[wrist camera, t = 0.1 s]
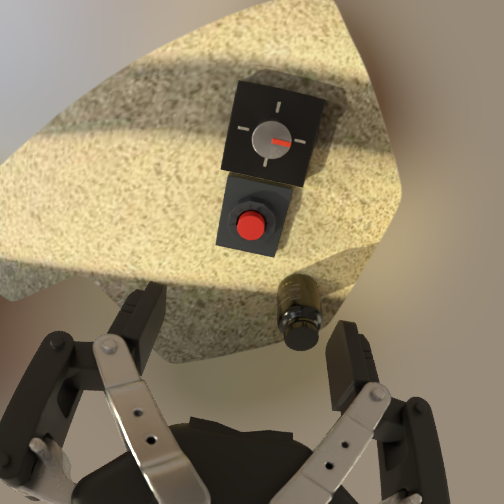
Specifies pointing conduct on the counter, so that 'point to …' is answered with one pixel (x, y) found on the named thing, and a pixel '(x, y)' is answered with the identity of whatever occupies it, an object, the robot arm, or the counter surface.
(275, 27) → the counter surface
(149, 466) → the robot arm
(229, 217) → the button housing
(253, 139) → the stove knob
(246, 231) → the power button
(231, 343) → the counter surface
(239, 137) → the stove panel
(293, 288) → the supplement bottle
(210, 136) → the counter surface
